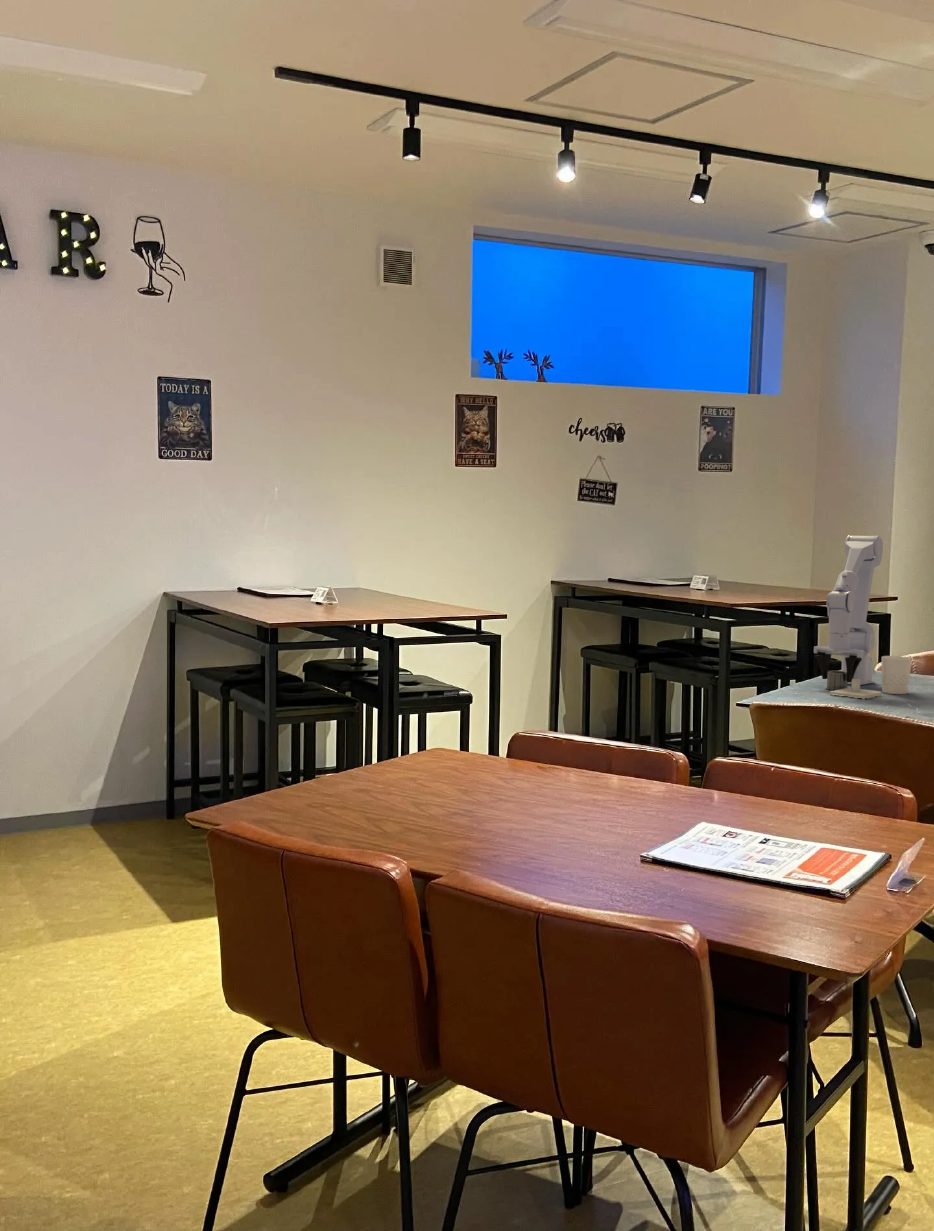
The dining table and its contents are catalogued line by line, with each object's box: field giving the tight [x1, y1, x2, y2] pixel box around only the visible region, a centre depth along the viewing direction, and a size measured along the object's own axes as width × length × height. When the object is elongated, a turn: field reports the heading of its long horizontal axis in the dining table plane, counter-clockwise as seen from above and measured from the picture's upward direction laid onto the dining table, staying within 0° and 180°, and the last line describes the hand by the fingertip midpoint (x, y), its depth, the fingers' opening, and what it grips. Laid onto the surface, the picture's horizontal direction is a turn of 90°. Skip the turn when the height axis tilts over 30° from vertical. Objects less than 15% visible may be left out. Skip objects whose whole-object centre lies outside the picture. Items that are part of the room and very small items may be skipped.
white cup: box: [881, 655, 912, 695], centre depth 337 cm, size 8×8×10 cm
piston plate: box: [829, 679, 882, 700], centre depth 332 cm, size 10×10×4 cm
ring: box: [826, 670, 849, 691], centre depth 343 cm, size 6×6×5 cm
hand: (837, 680), depth 343 cm, fingers open, 7 cm apart
